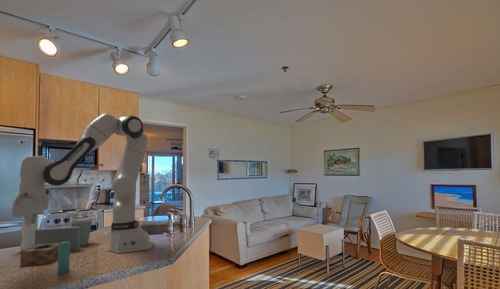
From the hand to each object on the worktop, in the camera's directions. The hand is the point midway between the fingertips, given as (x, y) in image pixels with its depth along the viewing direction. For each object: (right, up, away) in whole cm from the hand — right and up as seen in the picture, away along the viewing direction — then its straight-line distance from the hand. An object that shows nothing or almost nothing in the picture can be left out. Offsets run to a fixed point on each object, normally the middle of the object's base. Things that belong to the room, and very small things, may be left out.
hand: (30, 224), depth 118 cm
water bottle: (-23, -22, +26) cm, 41 cm away
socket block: (-2, -20, +9) cm, 22 cm away
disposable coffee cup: (0, -22, +35) cm, 41 cm away
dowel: (+19, -18, -6) cm, 27 cm away
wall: (-5, -21, +23) cm, 31 cm away
